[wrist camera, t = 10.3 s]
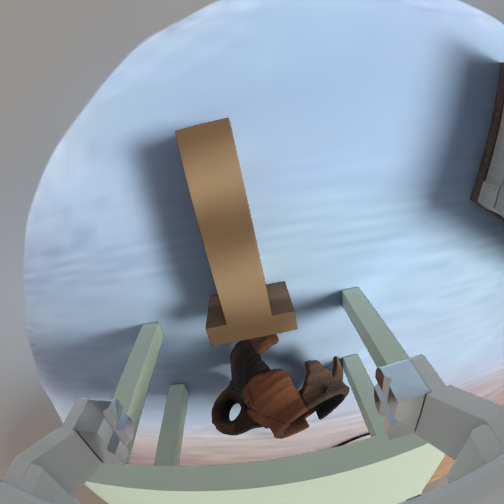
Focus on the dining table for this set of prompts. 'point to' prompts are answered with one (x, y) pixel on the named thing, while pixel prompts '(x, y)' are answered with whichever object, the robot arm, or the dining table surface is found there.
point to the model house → (493, 161)
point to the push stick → (230, 239)
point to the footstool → (275, 470)
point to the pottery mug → (275, 392)
